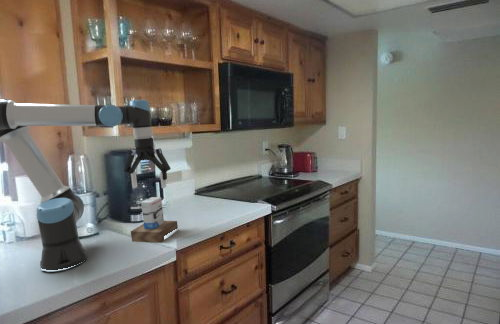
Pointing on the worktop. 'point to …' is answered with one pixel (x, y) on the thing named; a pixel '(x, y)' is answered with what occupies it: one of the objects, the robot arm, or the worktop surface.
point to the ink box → (152, 212)
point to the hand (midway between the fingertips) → (149, 187)
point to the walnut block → (153, 232)
